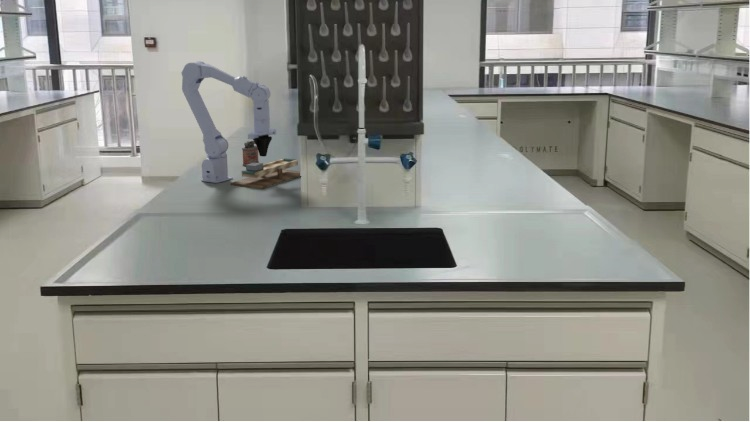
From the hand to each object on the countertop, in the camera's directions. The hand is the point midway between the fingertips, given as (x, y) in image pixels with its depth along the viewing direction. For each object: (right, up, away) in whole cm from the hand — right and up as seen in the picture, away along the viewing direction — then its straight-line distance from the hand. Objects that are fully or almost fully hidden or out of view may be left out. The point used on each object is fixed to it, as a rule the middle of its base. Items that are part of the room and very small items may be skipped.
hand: (263, 156), depth 266 cm
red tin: (-10, -1, +34) cm, 35 cm away
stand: (+2, -8, +5) cm, 10 cm away
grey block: (-2, -6, -4) cm, 8 cm away
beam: (+2, -5, +4) cm, 6 cm away
